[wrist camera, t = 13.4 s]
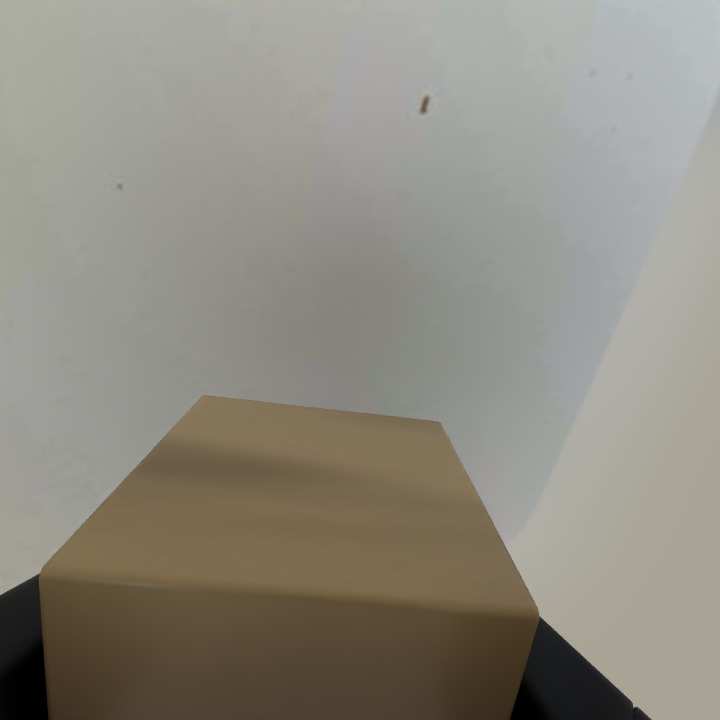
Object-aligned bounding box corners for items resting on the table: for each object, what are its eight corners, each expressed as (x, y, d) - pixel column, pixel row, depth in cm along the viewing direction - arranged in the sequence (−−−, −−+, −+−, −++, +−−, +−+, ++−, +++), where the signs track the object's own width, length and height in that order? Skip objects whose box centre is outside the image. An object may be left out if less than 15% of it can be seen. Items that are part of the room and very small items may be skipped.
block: (403, 611, 9) (453, 923, 5) (193, 594, 9) (57, 909, 5) (441, 419, 8) (546, 614, 4) (202, 393, 8) (33, 571, 4)
